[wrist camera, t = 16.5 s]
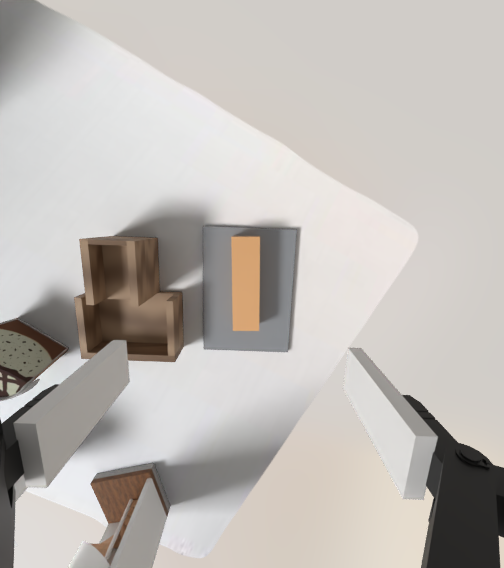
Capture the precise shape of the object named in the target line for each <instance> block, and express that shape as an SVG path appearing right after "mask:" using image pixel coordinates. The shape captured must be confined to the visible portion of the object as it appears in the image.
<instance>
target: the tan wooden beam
mask: <svg viewBox="0 0 504 568" xmlns="http://www.w3.org/2000/svg"><path fill="white" fill-rule="evenodd" d="M231 248H232V314H233V331H259V299H260V236H232V237H231Z"/></svg>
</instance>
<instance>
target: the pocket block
mask: <svg viewBox="0 0 504 568" xmlns="http://www.w3.org/2000/svg"><path fill="white" fill-rule="evenodd" d="M79 241H80V250H81V259H82V268H83V277H84V286H85V293H84V294H82V295H79V296H77V297H74V300H75V309H76V317H77V326H78V334H79V343H80V351H81V359H91V358H92V357H93V356H94V355H96V354H97V353H98V352H99V351H101V350H102V349H103V348H104V347H105V346H107V345H108V344H109V343H110V342H111V341H113V340H126V343H127V356H128V360H132V361H160V362H175V361H176V359H177V358H178V356H179V354H180V352H181V350H182V349H183V347H184V344H183V302H182V292H161V291H160V284H159V261H158V238H151V237H124V236H108V237H97V238H86V239H79Z"/></svg>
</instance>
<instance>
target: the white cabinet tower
mask: <svg viewBox="0 0 504 568" xmlns="http://www.w3.org/2000/svg"><path fill="white" fill-rule="evenodd" d="M91 486H92V488H93V490H94V493H95V495H96V497H97V499H98V501H99V504H100V506H101V508H102V510H103V512H104V514H105V517H106V519H107V521H108V523H109V524H108V526H107V528H106V531H105V533H104V535H103V537H102V539H101V541H100V543H99V544H91V543H88V542H86V541H82V543H81V545H80V547H79V548H78V550H77V552H76V554H75V556H74V558H73V559H72V562H71V563H70V565H69V567H68V568H152V566H153V563H154V560H155V556H156V553H157V549H158V546H159V543H160V539H161V536H162V533H163V529H164V526H165V522H166V519H167V516H168V512H169V509H170V504H169V501H168V498H167V496H166V493H165V491H164V488H163V485H162V483H161V480H160V478H159V475H158V472H157V470H156V467H155V465H154V463H150V464H144V465H139V466H134V467H129V468H124V469H118V470H113V471H108V472H103V473H97V474H96V476H95V477H94V479H93V481H92V482H91Z"/></svg>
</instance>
